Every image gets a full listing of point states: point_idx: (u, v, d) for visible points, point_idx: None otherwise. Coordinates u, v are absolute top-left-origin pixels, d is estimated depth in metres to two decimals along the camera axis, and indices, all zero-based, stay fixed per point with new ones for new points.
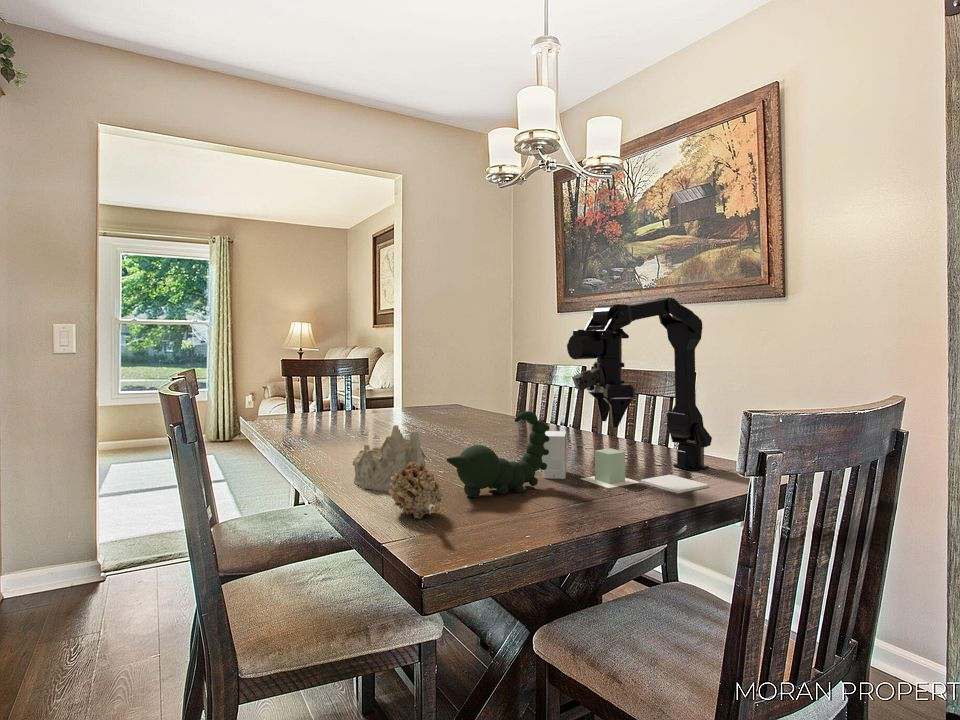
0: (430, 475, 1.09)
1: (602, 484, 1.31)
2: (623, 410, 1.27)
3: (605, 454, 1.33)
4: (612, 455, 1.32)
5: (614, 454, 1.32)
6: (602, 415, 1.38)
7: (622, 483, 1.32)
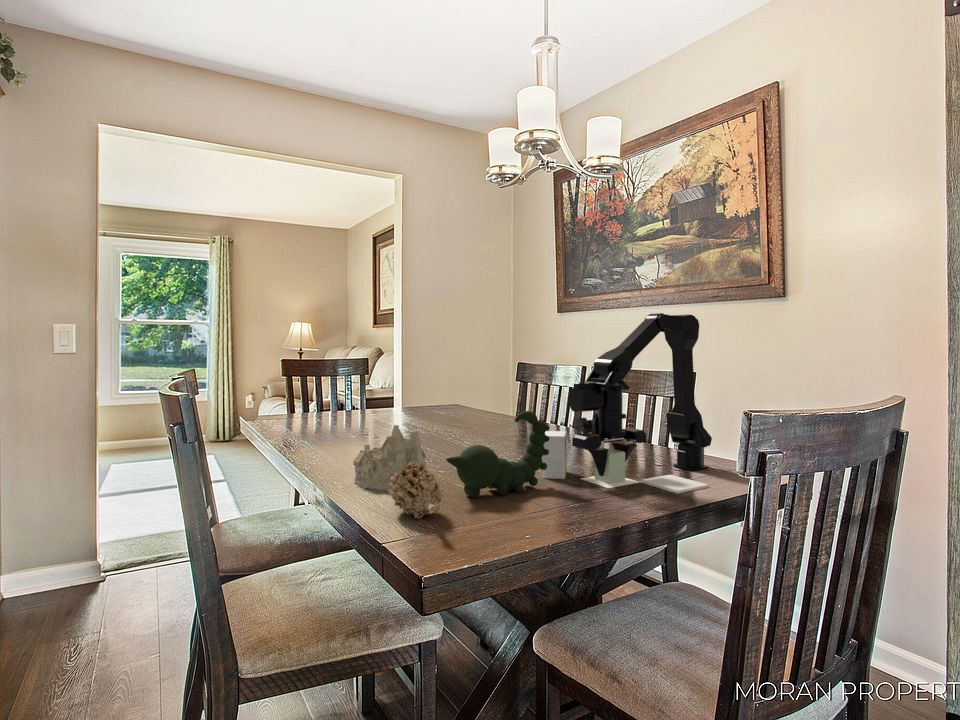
0: (430, 475, 1.09)
1: (602, 484, 1.31)
2: (600, 460, 1.32)
3: None
4: (612, 455, 1.32)
5: (614, 454, 1.32)
6: None
7: (622, 483, 1.32)
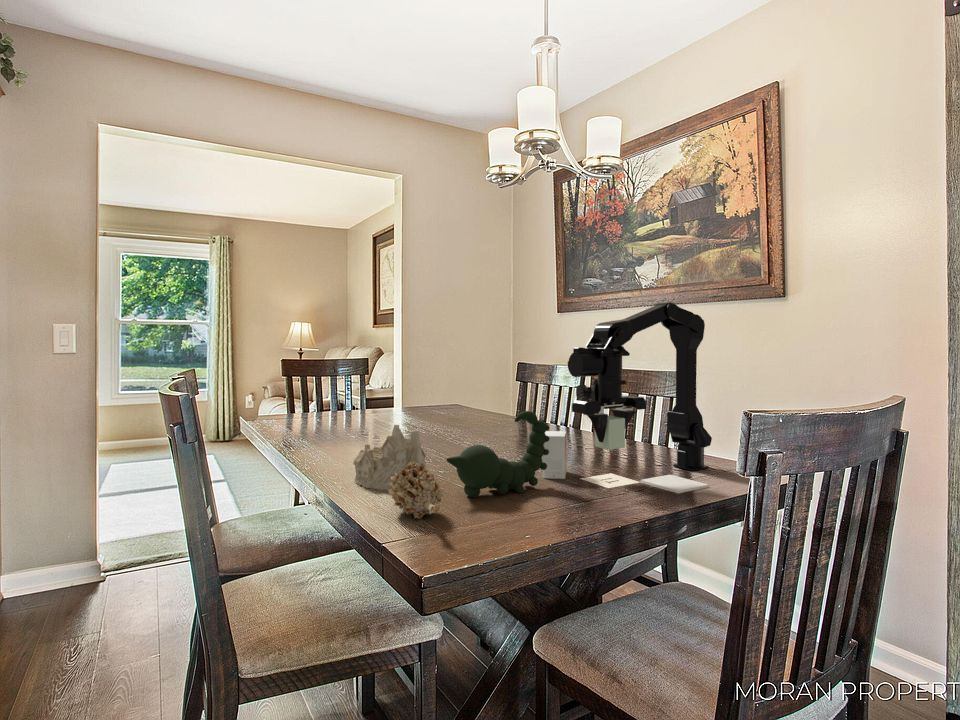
0: (430, 475, 1.09)
1: (602, 484, 1.31)
2: (600, 426, 1.31)
3: None
4: (612, 421, 1.32)
5: (614, 420, 1.32)
6: None
7: (622, 483, 1.32)
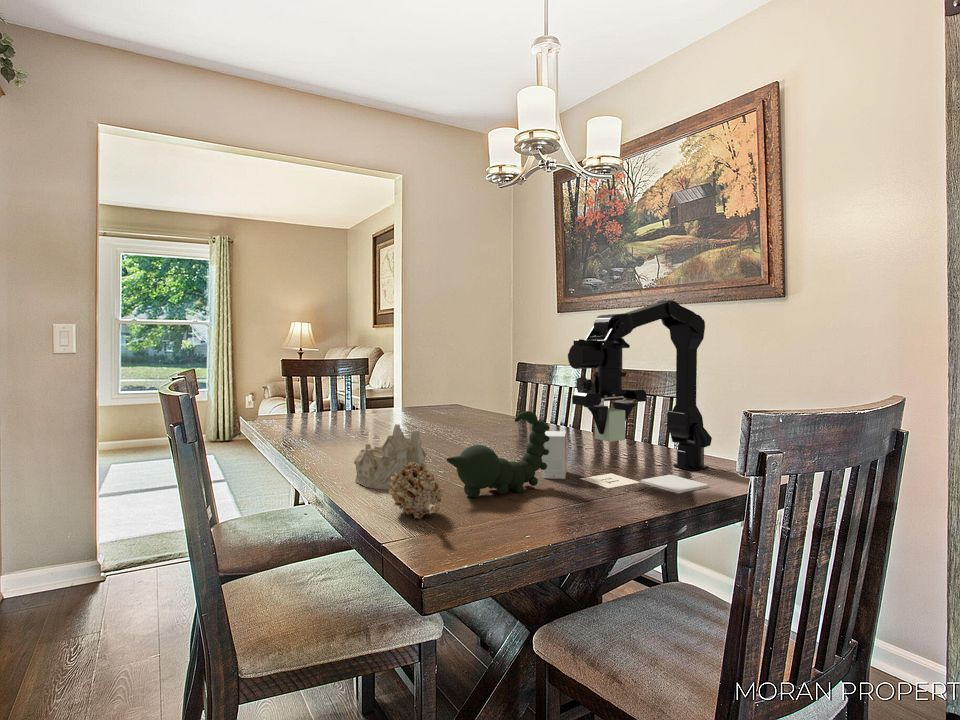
0: (430, 475, 1.09)
1: (602, 484, 1.31)
2: (600, 418, 1.31)
3: None
4: (612, 413, 1.32)
5: (614, 412, 1.32)
6: None
7: (622, 483, 1.32)
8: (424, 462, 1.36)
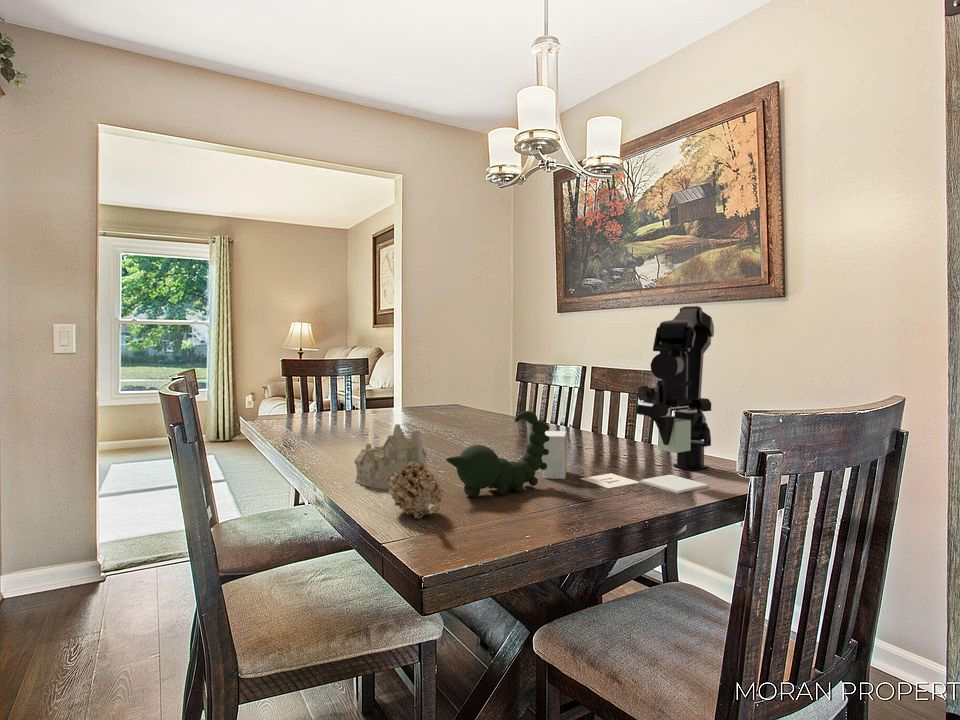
0: (430, 475, 1.09)
1: (602, 484, 1.31)
2: (666, 428, 1.27)
3: None
4: (678, 423, 1.27)
5: (680, 422, 1.28)
6: None
7: (622, 483, 1.32)
8: (424, 462, 1.37)
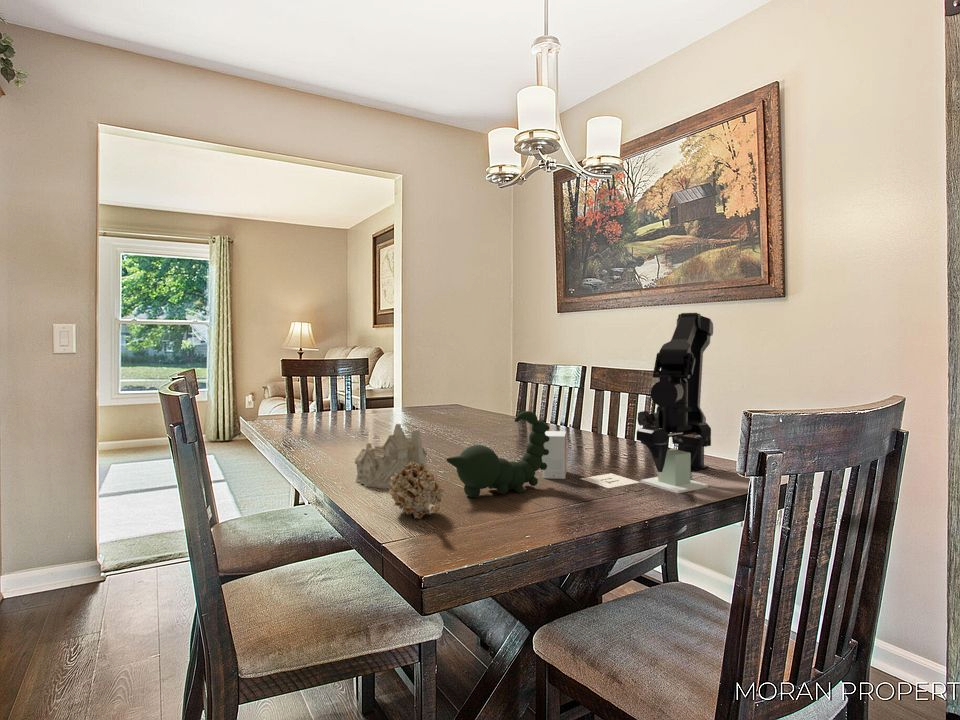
0: (430, 475, 1.09)
1: (602, 484, 1.31)
2: (660, 456, 1.26)
3: (671, 455, 1.28)
4: (678, 456, 1.28)
5: (680, 455, 1.28)
6: None
7: (622, 483, 1.32)
8: (425, 461, 1.37)
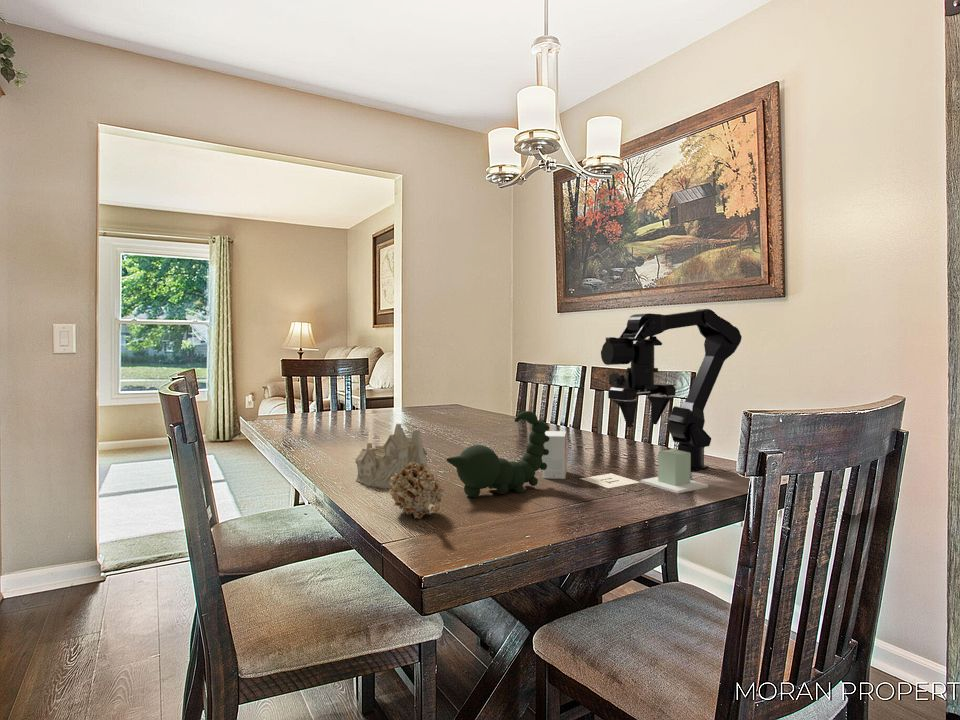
0: (430, 475, 1.09)
1: (602, 484, 1.31)
2: (630, 412, 1.38)
3: (671, 455, 1.28)
4: (678, 456, 1.28)
5: (680, 455, 1.28)
6: (653, 418, 1.45)
7: (622, 483, 1.32)
8: (425, 461, 1.38)
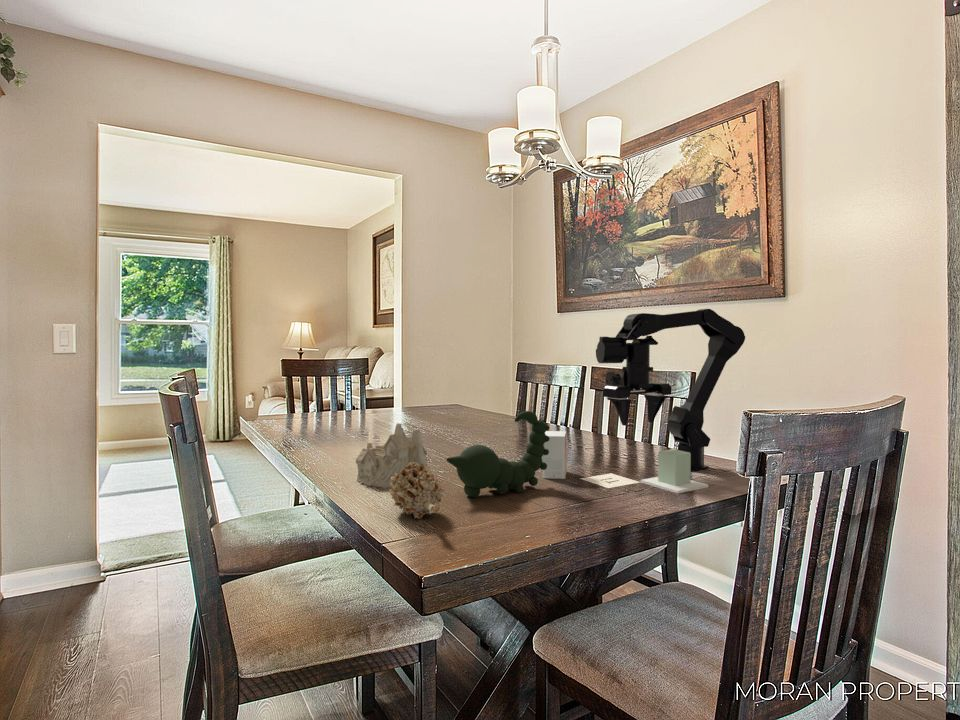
0: (430, 475, 1.09)
1: (602, 484, 1.31)
2: (624, 410, 1.40)
3: (671, 455, 1.28)
4: (678, 456, 1.28)
5: (680, 455, 1.28)
6: (649, 416, 1.47)
7: (622, 483, 1.32)
8: (425, 460, 1.38)
